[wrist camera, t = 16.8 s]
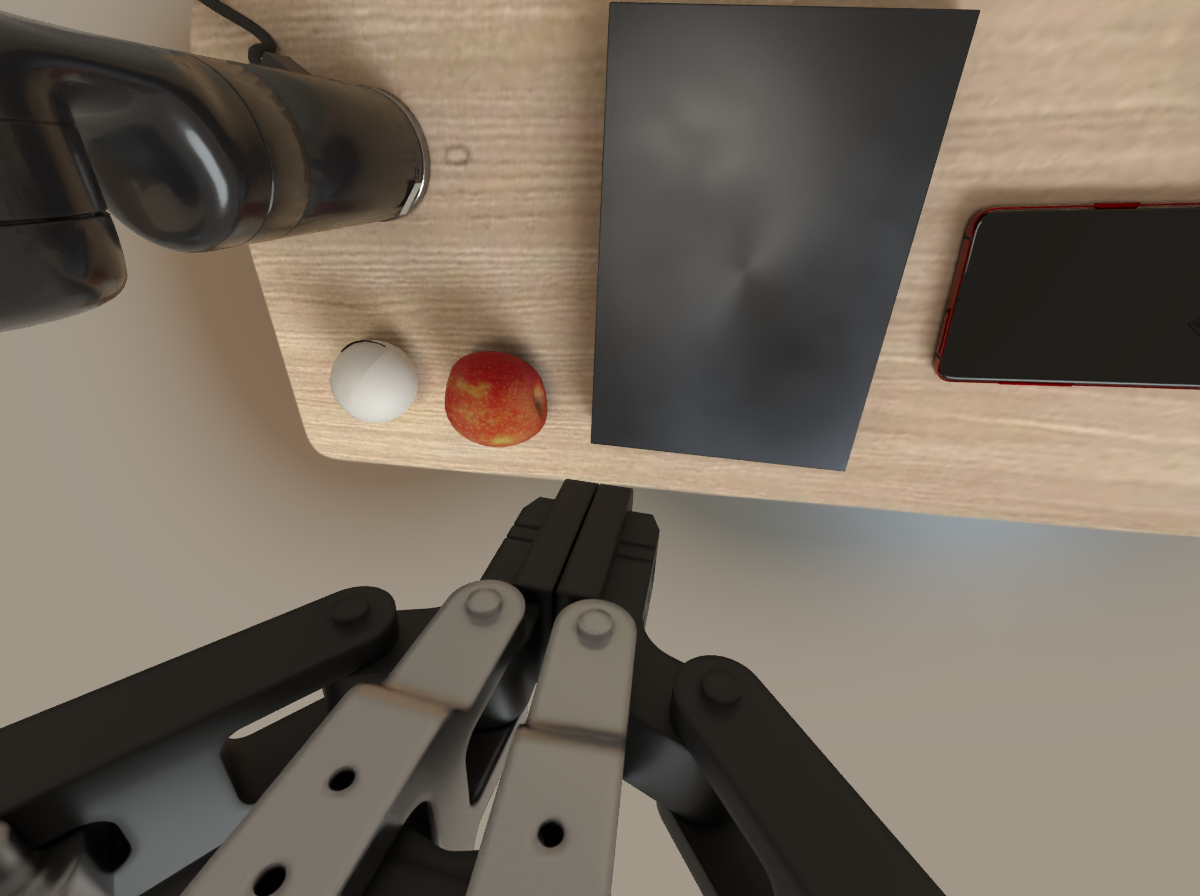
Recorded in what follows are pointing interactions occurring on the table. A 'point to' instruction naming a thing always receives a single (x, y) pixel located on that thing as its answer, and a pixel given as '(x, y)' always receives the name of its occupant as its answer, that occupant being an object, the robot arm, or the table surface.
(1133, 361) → the smartphone
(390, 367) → the white sphere
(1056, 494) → the table surface
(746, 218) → the laptop screen
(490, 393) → the apple
